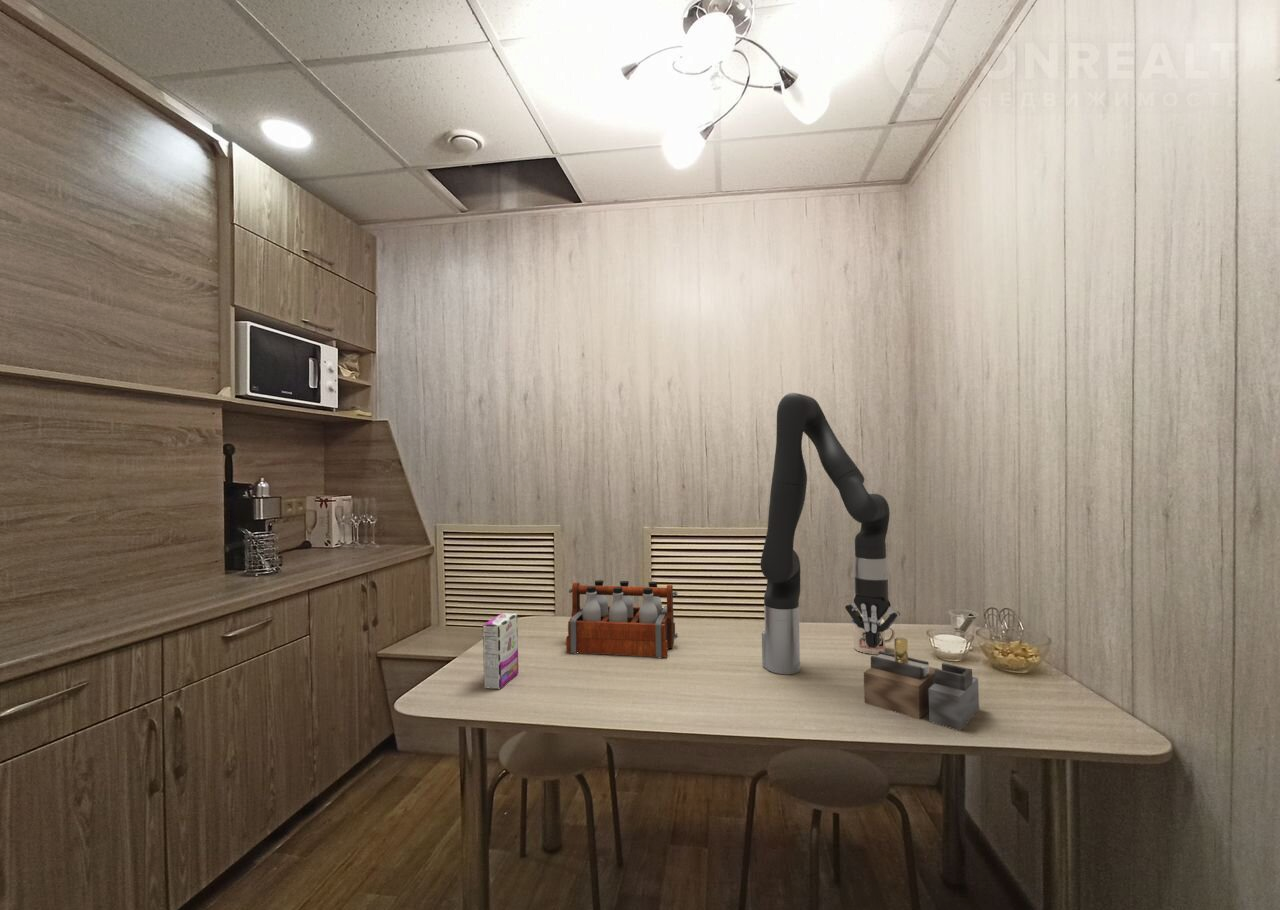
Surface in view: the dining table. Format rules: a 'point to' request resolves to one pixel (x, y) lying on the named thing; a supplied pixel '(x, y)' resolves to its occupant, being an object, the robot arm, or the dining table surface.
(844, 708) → the dining table surface
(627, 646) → the milk bottle holder
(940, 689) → the pair of card holders
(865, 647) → the teacup with lid
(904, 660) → the gold and grey piece
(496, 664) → the candy bar box
